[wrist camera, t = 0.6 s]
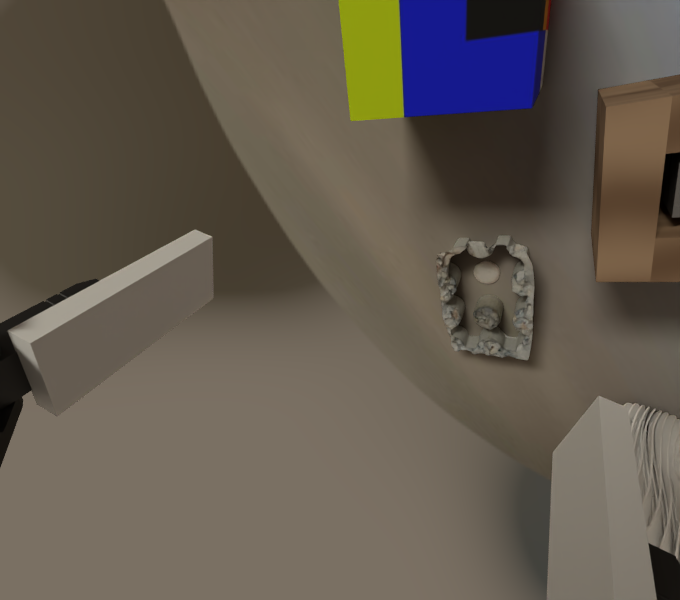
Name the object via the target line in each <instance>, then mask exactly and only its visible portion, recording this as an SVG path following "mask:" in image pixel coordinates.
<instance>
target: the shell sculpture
mask: <svg viewBox="0 0 680 600" xmlns="http://www.w3.org/2000/svg"><path fill="white" fill-rule="evenodd" d="M623 406H625V407H627V408H628V413H629V419H630V426H631V432H632V439H633V446H634V452H635V459H636V465H637V472H638V479H639V485H640V492H641V498H642V505H643V512H644V518H645V525H646V531H647V538H648V543H650V544H652V545H654V546H656V547H658V548H660V549H662V550H664V551H666V552H668V553H671V554H673V555H675V556H676V558H677V560H678V562H679V563H680V419H677V417H676V416H675V415H669V413H668V412H665V413H662V411H661V410H659V411H657V412H656V413H654V411H655V410H656V409H655V408H654V409H653V410H652V411H651V412H650V414H649V415H648V418H647V421H646V425H645V428H644V424H645V420H646V417H647V414H648V412H649V410H650V407H648V408H647V409H646V410H645V405H641V406H640V405H639V404H637V403H634V404H632V403H625V404H624V405H623ZM653 413H654V414H653ZM661 413H662V414H661ZM652 414H653V415H652ZM668 415H669V416H668ZM649 420H650V421H649ZM648 422H649V425H648ZM641 425H642V427H641ZM647 425H648V431H647ZM646 432H647V433H646ZM647 434H648V435H647ZM653 465H654V468H653ZM654 469H655V471H654ZM655 473H656V474H655Z"/></svg>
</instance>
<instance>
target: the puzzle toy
mask: <svg viewBox="0 0 680 600" xmlns="http://www.w3.org/2000/svg"><path fill="white" fill-rule="evenodd" d="M550 7H551V0H339V9H340V19H341V29H342V39H343V49H344V59H345V69H346V79H347V89H348V99H349V109H350V119H351V121H357V120H372V119H386V118H400V117H415V116H429V115H443V114H458V113H472V112H486V111H501V110H515V109H530V108H532V107H533V105H534V103H535V101H536V99H537V97H538V95H539V93H540V91H541V89H542V85H543V75H544V65H545V55H546V46H547V36H548V26H549V17H550Z"/></svg>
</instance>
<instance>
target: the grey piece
mask: <svg viewBox="0 0 680 600" xmlns="http://www.w3.org/2000/svg"><path fill="white" fill-rule="evenodd" d="M497 245H505V246H507V248H506V249H507V250H508V251H509V254H510V255H512V256H514V257H517V258H519V259H520V260H521V261H519V262H518V263H517V264H516V266H515V268H514V272H513V276H512V291H513V292H514V293H516V294H517V295H519V296H522V297H521V298H520V299H518V301H517V304H516V308H515V313H514V317H513V320H512V321H513V325H514V326H515V328H516V330H519V331H520V333H519V334H518V337H508V336H507V335H505V333H504V332H503V331H502V330H501V329H499V328H498V327H497V326H498V324H499V323H500V321H501V316H502V312H503V303H502V301H501V300H500V299H499V298H497V297H496V296H494V295H485V296H482V297H481V298H480V299H479V300H478V302H477V305H476V308H475V310H474V313H473V319H474V322H475V323H476V324H478V325H479V326H480V327H483V328H484V329H483V330H482V331H481V334H480V336H470V335H469V334H468V332H467V330H466V329H465V328H463V327H461V326H458V325H459V323H460V321H461V319H462V316H463V313H464V310H465V303H464V301H463V300H462V299H461V298H460V297H458V296H455V295H454V293H455V292H456V290H457V289H456V288H457V286H458V284H459V281H460V279H461V271H460V269H459V268H458V267H457V265H455V264H453V263H450V260H451V258H452V256H454V255H456V254H460V253H461V252H463V251H464V250H465V249H466V250H467V252H468V253H469V254H470V255H472V256H474V257H476V258H485V257H488V256H490V255H491V254H492V253H493V251H494V249H495V247H496V246H497ZM437 256H438V257H439V258H437V260H436V261H437V274H438V284H439V287H440V298H441V302H442V314H443V319H444V322H445V325H446V328H447V330H448V333H449V335H450V337H451V344H452V348H453V349H454V351H460V350H468V351H471V353H472V354H479V353H483V354H486V355H488V356H491V355H492V356H497V357H501V358H503V357H507V356H511V357H513V358H516V359H522V360H528V359H529V355H530V350H531V343H532V333H533V330H532V328H533V321H532V320H533V304H534V287H535V285H534V273H533V266H532V263H531V261H530V259H529V253H528V247H524V245H521V244H516V243H515V242H514V240H513V238H512V236H510V235H500V236H498V239H497V241H496V244H495V245H492V246H491V247H490V248H487V246H486V244H485V242H477V241H470V238H458V240H457V241H456V243H455V245H454V247H453V249H452V250H450V251H448V252H446V253H439V254H438V255H437ZM474 276H475V278H476V279H477V280H478V281H479V282H481V283H483V284H492V283H494V282H496V281H497V280H498V278H499V276H500V269H499V267H498V266H497V265H496V264H495V263H493V262H491V261H482V262H480V263H478V264H477V265H476V266H475V267H474Z"/></svg>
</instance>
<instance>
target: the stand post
mask: <svg viewBox="0 0 680 600" xmlns="http://www.w3.org/2000/svg"><path fill="white" fill-rule="evenodd" d="M661 198H662V200H663V202H664V204H665V206H666V208H667V209H668V211H669V213H670V215H671V217H672V218H675V217H680V152H677V153H668V154H665V163H664V171H663V179H662V188H661Z"/></svg>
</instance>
